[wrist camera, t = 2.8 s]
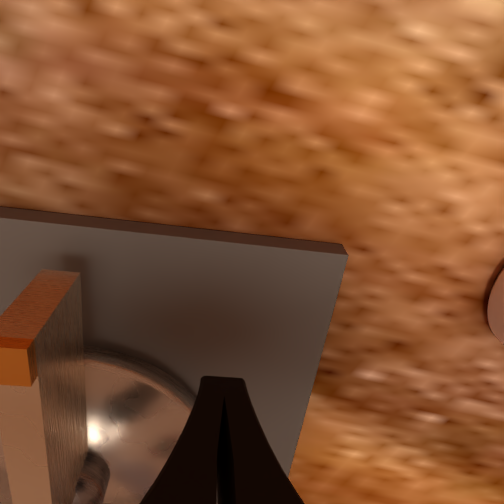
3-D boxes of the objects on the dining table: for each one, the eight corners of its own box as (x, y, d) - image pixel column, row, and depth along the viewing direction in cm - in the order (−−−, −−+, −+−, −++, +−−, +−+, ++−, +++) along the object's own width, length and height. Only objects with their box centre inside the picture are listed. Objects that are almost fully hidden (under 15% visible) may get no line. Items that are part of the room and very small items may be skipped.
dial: (202, 530, 22) (195, 657, 17) (-35, 524, 20) (-112, 660, 16) (240, 271, 15) (247, 365, 10) (-110, 236, 14) (-283, 326, 9)
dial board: (267, 529, 24) (269, 550, 23) (-113, 519, 22) (-130, 542, 21) (341, 244, 16) (349, 257, 15) (-247, 179, 14) (-285, 189, 13)
